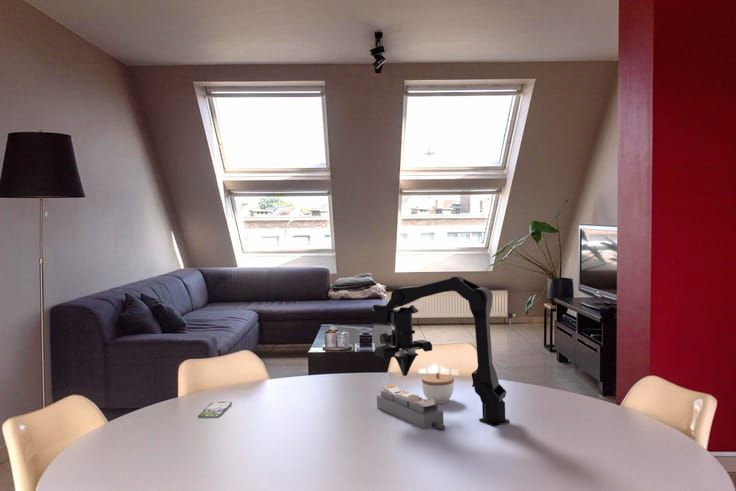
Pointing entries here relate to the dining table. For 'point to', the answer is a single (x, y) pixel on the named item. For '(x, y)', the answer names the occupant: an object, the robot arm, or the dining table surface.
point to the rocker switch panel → (411, 411)
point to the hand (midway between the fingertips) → (404, 375)
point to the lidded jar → (438, 387)
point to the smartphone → (215, 410)
